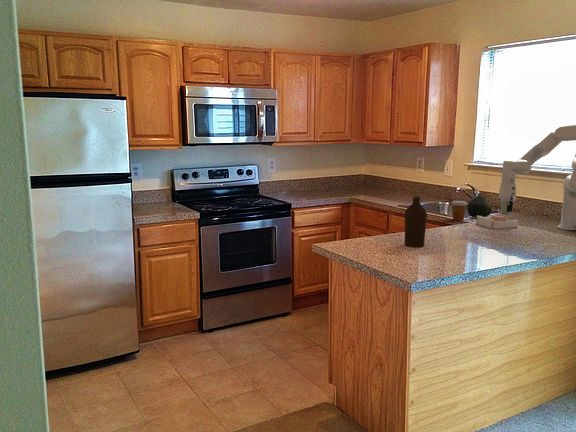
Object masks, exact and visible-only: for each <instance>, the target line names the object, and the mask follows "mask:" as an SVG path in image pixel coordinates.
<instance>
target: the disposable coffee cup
mask: <svg viewBox="0 0 576 432" xmlns="http://www.w3.org/2000/svg"><path fill="white" fill-rule="evenodd" d="M451 201H452V202H451V203H450V204H451V206H452V207H451V208H452V220H453V221H456V222H462V221H464V218H465V215H466V214H465V213H466V209H467V206H468V203H467V201H466V200H451Z"/></svg>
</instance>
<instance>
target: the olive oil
mask: <svg viewBox="0 0 576 432" xmlns="http://www.w3.org/2000/svg"><path fill="white" fill-rule="evenodd" d="M412 196H413V197H412V203H411V204H410V205H409V206H408V207H407V208H406V209H405V211H404V245H405V246H406V247H411V248H422V247H424V246H425V237H426V227H427V216H428V214H427V210H426V208H425V207H424V206H423V205H422V204H421V195H420V194H413V195H412Z"/></svg>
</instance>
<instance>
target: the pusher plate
mask: <svg viewBox="0 0 576 432" xmlns="http://www.w3.org/2000/svg"><path fill="white" fill-rule="evenodd" d="M490 217H491V219H493V220H494V221H508V219H507V217H503V216H502V217H499V215H493V214H492V215H491V214H490Z"/></svg>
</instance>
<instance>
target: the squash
mask: <svg viewBox="0 0 576 432" xmlns="http://www.w3.org/2000/svg"><path fill="white" fill-rule="evenodd" d="M492 208H493V207H492V204H491V203H490V201H489V200H488V199H486V198H485V196H482V195H480V194H479V195H477V196H474V197H473V198H472V199H471V200H470V201H469V202H468V203H467V205H466V209H467V213H468V215H469V216H470V217H472V218H475V217H476V218H477V216H482V217H490V216H491V212H492Z"/></svg>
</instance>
